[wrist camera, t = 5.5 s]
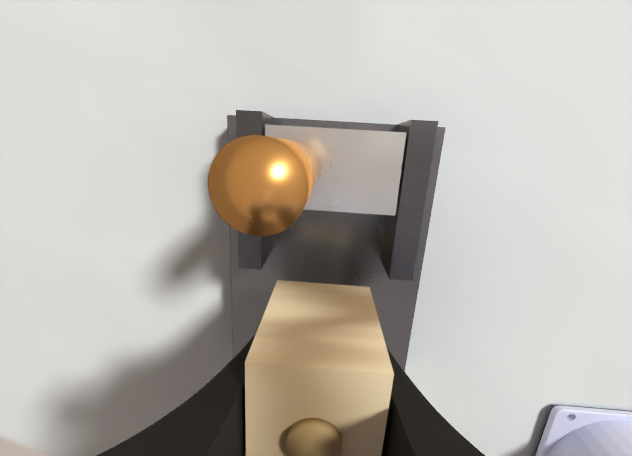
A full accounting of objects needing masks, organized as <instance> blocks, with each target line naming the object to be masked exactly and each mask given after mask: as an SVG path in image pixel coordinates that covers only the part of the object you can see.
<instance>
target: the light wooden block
mask: <svg viewBox="0 0 632 456" xmlns="http://www.w3.org/2000/svg"><path fill="white" fill-rule="evenodd" d="M393 378H394V372H393V368H392V365H391V361H390V358H389V354H388V351H387V347H386V344H385V340H384V336H383V333H382V329H381V326H380V322H379V319H378V315H377V311H376V308H375V304H374V301H373V297H372V294H371V290H370V287H364V286H350V285H336V284H323V283H309V282H296V281H282V280H277V282H276V285H275V287H274V290H273V292H272V295H271V297H270V300H269V302H268V305H267V307H266V310H265V312H264V315H263V318H262V320H261V323H260V325H259V328H258V330H257V333H256V335H255V338H254V340H253V343H252V345H251V348H250V350H249V353H248V355H247V358H246V360H245V418H246V456H381V454H382V448H383V442H384V435H385V429H386V423H387V416H388V410H389V404H390V397H391V391H392V384H393Z"/></svg>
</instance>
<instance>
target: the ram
mask: <svg viewBox="0 0 632 456" xmlns="http://www.w3.org/2000/svg"><path fill="white" fill-rule="evenodd" d="M405 139H406V132H389V131H371V130H354V129H336V128H319V127H301V126H284V125H267V124H265V136H262V135H249V136H243V137H240V138H237V139H235V140H233V141H231V142H230V143H228V144H227V145H225V146H224V147H223V148H222V149H221V150H220V151H219V152H218V154H217V155H216V157H215V158H214V160H213V162H212V165H211V168H210V171H209V177H208V188H209V194H210V198H211V201H212V203H213V206H214V207H215V209H216V211H217V212H218V214H219V215H220V216H221V218H222V219H223V220H224V221H225V222H226V223H227V224H229V225H230V226H231V227H233V228H234V229H236V230H238V231H240V232H242V233H245V234H249V235H253V236H269V235H274V234H277V233H280V232H282V231H284V230H286V229H287V228H289V227H290V226H291V225H292V224H293V223H294V222H295V221H296V220H297V219H298V218H299V217H300V215H301V213H302V212H303V210H319V211H334V212H349V213H364V214H379V215H394V216H395V214H396V206H397V199H398V191H399V184H400V177H401V169H402V162H403V154H404V147H405Z"/></svg>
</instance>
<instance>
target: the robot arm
mask: <svg viewBox="0 0 632 456" xmlns="http://www.w3.org/2000/svg"><path fill="white" fill-rule="evenodd" d="M255 335H256V334H255ZM255 335H254V336H253V337H252V338H251V339H250V340H249V342H248V343H247V344H246V345H245V346H244V347H243V348H242V350H241V351H240V352H239V353H238V354H237V355H236V356H235V357H234V358H233V359H232V360H231V361H230V362H229V363H228V364H227V365H226V366H225V367H224V368H223V369H222V370H221V371H220V372H219V373H218V374H217V375H216V376H215V377H214V378H213V379H212V380H211V381H210V382H208V383H207V384H206V385H205V386H204V387H203V388H202V389H200V390H199V391H198V392H197V393H196V394H194V395H193V396H192V397H191V398H189V399H188V400H187V401H186V402H184V403H183V404H182V405H180V406H179V407H178V408H176V409H175V410H173V411H172V412H170V413H169V414H168V415H166V416H165V417H163V418H162V419H160V420H159V421H157V422H156V423H154V424H153V425H151V426H149V427H148V428H146V429H145V430H143V431H141V432H140V433H138V434H136V435H134V436H133V437H131V438H129V439H128V440H126V441H124V442H122V443H120V444H119V445H117V446H115V447H113V448H111V449H109V450H107V451H105V452H103V453H101V454H99V455H97V456H246V418H245V360H246V358H247V355H248V353H249V350H250V348H251V345H252V343H253V340H254V338H255ZM386 347H387V346H386ZM387 351H388V354H389V358H390V361H391V365H392V368H393V372H394V378H393V384H392V391H391V397H390V404H389V410H388V416H387V423H386V429H385V435H384V442H383V448H382V454H381V456H485V455H484V454H482V453H481V452H480V451H479V450H478V449H477V448H475V447H474V446H473V445H472V444H471V443H470V442H469V441H467V440H466V439H465V438H464V437H463V436H462V435H461V434H460V433H459V432H458V431H456V430H455V429H454V428H453V427H452V426H451V425H450V424H449V423H448V422H447V421H446V420H445V419H444V418H443V417H442V416H441V415H440V414H439V413H438V412H437V411H436V409H435V408H434V407H433V406H432V405H431V404H430V403H429V402H428V400H427V399H426V398H425V397H424V396H423V395H422V393H421V392H420V391H419V390H418V389H417V387H416V386H415V385H414V384H413V382H412V381H411V380H410V378H409V377H408V376H407V375H406V373H405V372H404V371H403V369H402V368H401V366H400V365H399V364H398V362H397V361H396V359H395V358H394V357H393V355H392V354H391V352H390V351H389V349H388V348H387ZM535 456H632V412H631V411H619V410H607V409H596V408H584V407H572V406H555V407H554V408H552V410H551V412H550V415H549V418H548V421H547V424H546V427H545V429H544V432H543V435H542V438H541V441H540V444H539V447H538V450H537V453H536V455H535Z"/></svg>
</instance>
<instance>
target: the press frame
mask: <svg viewBox="0 0 632 456" xmlns="http://www.w3.org/2000/svg"><path fill="white" fill-rule="evenodd" d="M227 123H228V143H230V142H231V141H233V140H235V139H237V138H240V137H243V136H249V135H262V136H265V124H267V125H284V126H301V127H319V128H336V129H354V130H371V131H389V132H406V139H405V147H404V154H403V162H402V169H401V177H400V184H399V191H398V199H397V206H396V214H395V216H394V215H379V214H364V213H349V212H334V211H319V210H303V212H302V213H301V215H300V217H299V218H298V219H297V220H296V221H295V222H294V223H293V224H292V225H291V226H290V227H289V228H287V229H286V230H284V231H282V232H280V233H277V234H274V235H269V236H253V235H249V234H245V233H242V232H240V231H238V230H236V229H234V228H233V227H231V226H230V250H231V293H232V335H233V358H234V357H235V356H236V355H237V354H238V353H239V352H240V351H241V350H242V348H243V347H244V346H245V345H246V344H247V343H248V342H249V340H250V339H251V338H252V337H253V336H254V335H255V334H256V333H257V330H258V328H259V325H260V323H261V320H262V318H263V315H264V312H265V310H266V307H267V305H268V302H269V300H270V297H271V295H272V292H273V290H274V287H275V285H276V282H277V280H282V281H296V282H309V283H323V284H336V285H350V286H364V287H370V290H371V294H372V297H373V301H374V304H375V308H376V311H377V315H378V319H379V322H380V326H381V329H382V333H383V336H384V340H385V344H386V346H387V348H388V349H389V351H390V352H391V354H392V355H393V357H394V358H395V359H396V361H397V362H398V364H399V365H400V366H401V368H402V369H403V371H405V365H406V359H407V353H408V347H409V341H410V335H411V329H412V323H413V317H414V311H415V305H416V299H417V293H418V287H419V281H420V276H421V270H422V264H423V258H424V252H425V246H426V240H427V234H428V228H429V222H430V216H431V210H432V204H433V198H434V192H435V186H436V180H437V174H438V168H439V162H440V156H441V150H442V145H443V139H444V133H445V128H444V127H437V125H438V121H421V120H409V121H406V122H403V123H400V124H397V125H391V124H373V123H356V122H338V121H320V120H303V119H285V118H274V117H272V116H270V115H268V114H266V113H264V112H261V111H243V110H236V116H232V115H227Z"/></svg>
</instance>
